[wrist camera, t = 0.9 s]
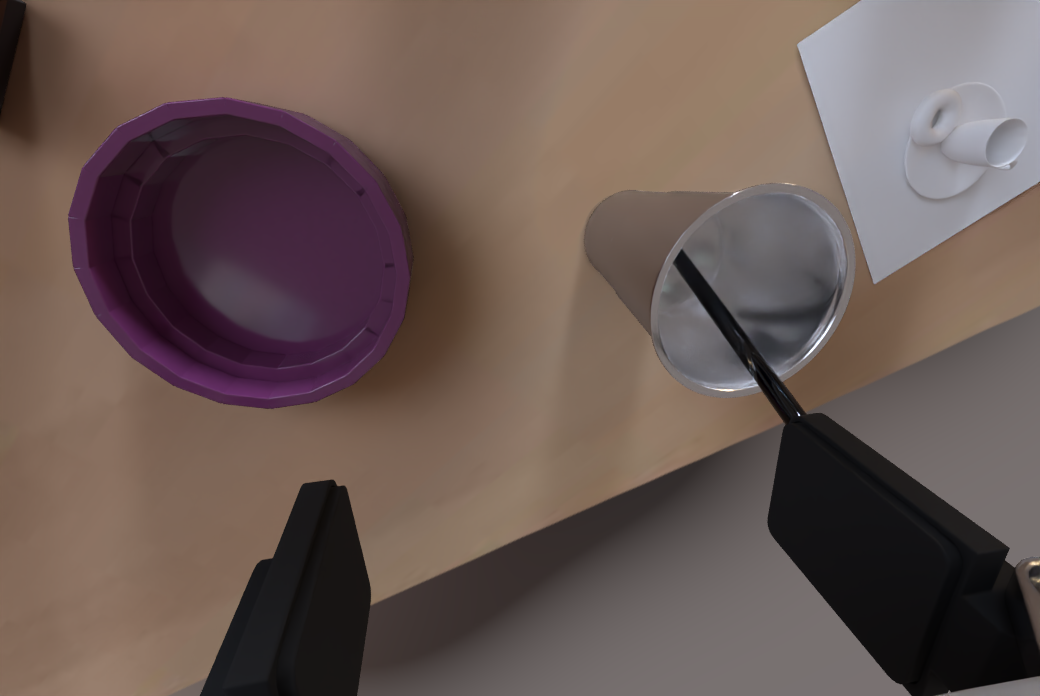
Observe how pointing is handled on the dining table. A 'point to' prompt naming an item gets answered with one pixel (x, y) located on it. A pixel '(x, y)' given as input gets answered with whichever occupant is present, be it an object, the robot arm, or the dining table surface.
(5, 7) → the wall coat peg
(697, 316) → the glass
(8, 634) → the dining table surface
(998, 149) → the teacup and saucer
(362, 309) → the bowl
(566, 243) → the dining table surface
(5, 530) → the dining table surface
